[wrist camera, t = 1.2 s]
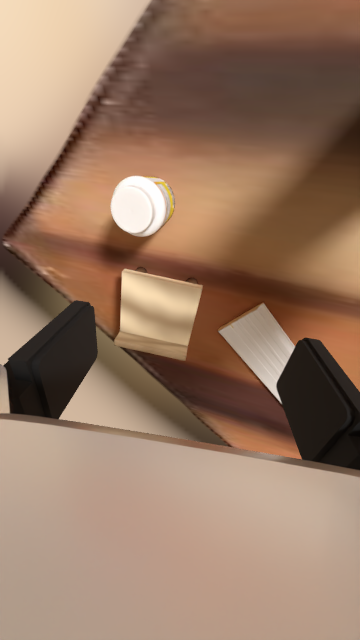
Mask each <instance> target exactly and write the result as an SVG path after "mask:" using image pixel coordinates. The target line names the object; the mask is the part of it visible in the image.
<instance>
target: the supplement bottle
mask: <svg viewBox="0 0 360 640" xmlns="http://www.w3.org/2000/svg"><path fill="white" fill-rule="evenodd" d="M174 208H175V198H174V194H173V191H172V189H171V188H170V186H169V185H168V184H167V183H166V182H165V181H163V180H162V179H160V178H157V177H146V176H131V177H128V178H125V179H124V180H122V181H121V182H120V183H119V184H118V185H117V187H116V188H115V190H114V193H113V197H112V201H111V213H112V216H113V219H114V221H115V222H116V224H117V225H118V226H119V227H120V228H121V229H122V230H124V231H126V232H128V233H129V234H131V235H134V236H138V237H145V236H149V235H151V234H153V233H155V232H156V231H157V230H158V229H159V228H160V227H162V226H163V225H164V224H165V223H166V222H167V221H168V220H169V219H170V218H171V216H172V214H173V212H174Z"/></svg>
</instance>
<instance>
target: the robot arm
mask: <svg viewBox="0 0 360 640" xmlns="http://www.w3.org/2000/svg"><path fill="white" fill-rule="evenodd" d="M97 352H98V351H97V339H96V326H95V314H94V307H93V306H91V305H90V303H89V302H83V301H77V300H76V301H74V302H73V303H72V304H70V305H69V306H68V307H67V308H66V309H65V310H64V311H62V312H61V313H60V314H59V315H58V316H57V317H56V318H54V319H53V320H52V321H51V322H50V323H49V324H48V325H46V326H45V327H44V328H43V329H42V330H41V331H39V332H38V333H37V334H36V335H35V336H34V337H33V338H31V339H30V340H29V341H28V342H27V343H26V344H25V345H23V346H22V347H21V348H20V349H19V350H18V351H17V352H15V353H14V354H13V355H12V356H11V357H10V358H9V359H8V360H9V361H8V362H7V363H6V364H5V365H4V366H2V365H1V364H0V640H360V392H359V391H358V389H357V388H356V387H355V385H354V384H353V383H352V382H351V380H350V379H349V378H348V376H347V375H346V374H345V372H344V371H343V370H342V368H341V367H340V366H339V365H338V363H337V362H336V361H335V359H334V358H333V357H332V355H331V354H330V353H329V352H328V350H327V349H326V348H325V346H324V345H323V344H322V342H321V341H320V340H316V339H310V338H304V339H302V340H299V341H298V343H297V344H296V346H295V348H294V350H293V352H292V354H291V356H290V358H289V360H288V362H287V364H286V366H285V368H284V370H283V371H282V373H281V375H280V377H279V379H278V381H277V385H276V388H277V392H278V394H279V397H280V400H281V403H282V405H283V408H284V411H285V414H286V416H287V419H288V422H289V425H290V427H291V430H292V433H293V436H294V438H295V441H296V444H297V447H298V449H299V452H300V455H301V457H302V460H301V459H296V458H290V457H284V456H278V455H273V454H267V453H261V452H255V451H250V450H244V449H238V448H232V447H226V446H220V445H214V444H208V443H202V442H196V441H190V440H184V439H178V438H172V437H167V436H161V435H154V434H148V433H142V432H135V431H130V430H123V429H117V428H111V427H105V426H99V425H93V424H87V423H80V422H73V421H67V420H59V417H60V415H61V414H62V412H63V411H64V409H65V408H66V406H67V404H68V403H69V401H70V400H71V398H72V397H73V395H74V393H75V392H76V390H77V388H78V387H79V385H80V384H81V382H82V381H83V379H84V377H85V376H86V374H87V373H88V371H89V370H90V368H91V366H92V365H93V363H94V361H95V360H96V358H97Z"/></svg>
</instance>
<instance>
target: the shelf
mask: <svg viewBox="0 0 360 640" xmlns="http://www.w3.org/2000/svg"><path fill="white" fill-rule="evenodd" d="M202 287H203V285H198V283H197V280H196V279H194V278H189V279H188V280H187V281H186V282H184V281H179V280H175V279H170V278H165V277H161V276H156V275H152V274H147V271H146V269H145V268H143V267H138V268H137V269H136V270H135V271H133V270H128V269H124V270H123V271H122V286H121V316H120V332H119V334H118V335H117V337H116V338H115V340H114V345H115V346H119V347H124V348H129V349H133V350H138V351H142V352H147V353H151V354H156V355H161V356H165V357H170V358H174V359H179V360H183V361H185V359H186V355H187V348H188V343H189V339H190V335H191V331H192V327H193V324H194V320H195V316H196V312H197V308H198V304H199V300H200V296H201V292H202Z"/></svg>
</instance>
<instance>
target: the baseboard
mask: <svg viewBox="0 0 360 640" xmlns="http://www.w3.org/2000/svg"><path fill="white" fill-rule="evenodd" d="M218 332H219V333H220V334H221V335H222V336H223V337H224V338H225V340H226V341H227V342H228V343H229V344H230V345H231V346H232V348H233V349H234V350H235V351H236V352H237V353H238V354H239V356H240V357H241V358H242V359H243V360H244V361H245V362H246V364H247V365H248V366H249V367H250V368H251V369H252V371H253V372H254V373H255V374H256V375H257V376H258V377H259V379H260V380H261V381H262V382H263V383H264V384H265V385H266V387H267V388H268V389H269V390H270V391H271V392H272V393H273V395H274V396H275V397H276V398H277V399H278V400H279V401H280V403H281V400H280V397H279V394H278V392H277V388H276V385H277V381H278V379H279V377H280V375H281V373H282V371H283V370H284V368H285V366H286V364H287V362H288V360H289V358H290V356H291V354H292V352H293V350H294V348H295V346H294V344H293V343H292V342H291V340H290V339H289V337H288V336H287V335H286V333H285V332H284V331H283V329H282V328H281V326H280V325H279V324H278V322H277V321H276V320H275V318H274V317H273V315H272V314H271V313H270V311H269V310H268V308H267V307H266V306H265V304H264V303H261V304H259V305H258V306H256V307H254V308H253V309H251V310H249V311H247V312H246V313H244V314H242V315H241V316H239V317H237V318H235V319H234V320H232V321H230V322H229V323H227V324H225V325H223V326H222V327H220V328H218ZM281 404H282V403H281Z"/></svg>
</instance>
